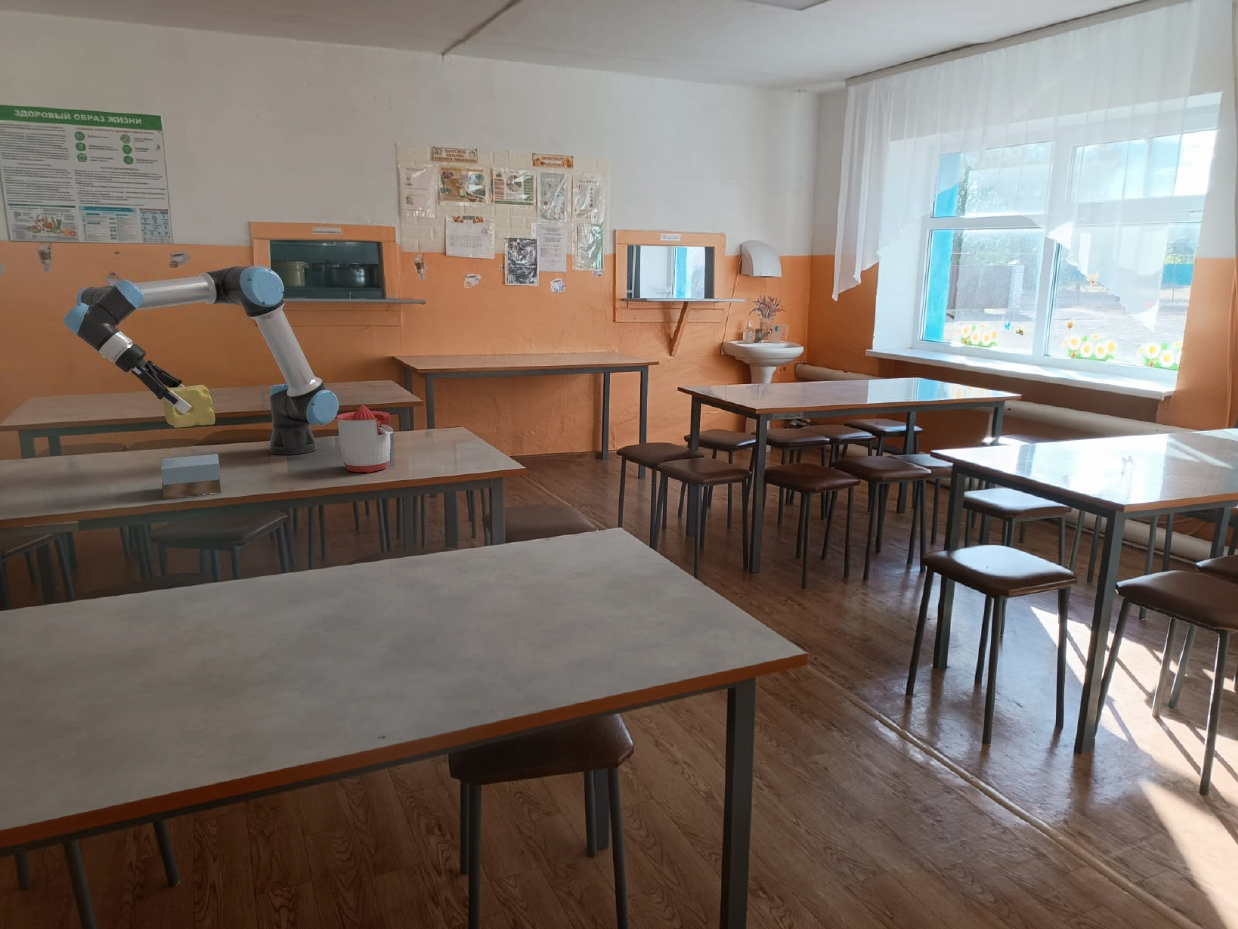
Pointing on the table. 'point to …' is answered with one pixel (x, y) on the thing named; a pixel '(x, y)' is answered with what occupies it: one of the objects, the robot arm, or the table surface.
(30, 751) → the table surface
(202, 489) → the tower base block
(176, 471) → the tower top block
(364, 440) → the citrus juicer
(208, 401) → the cheese
